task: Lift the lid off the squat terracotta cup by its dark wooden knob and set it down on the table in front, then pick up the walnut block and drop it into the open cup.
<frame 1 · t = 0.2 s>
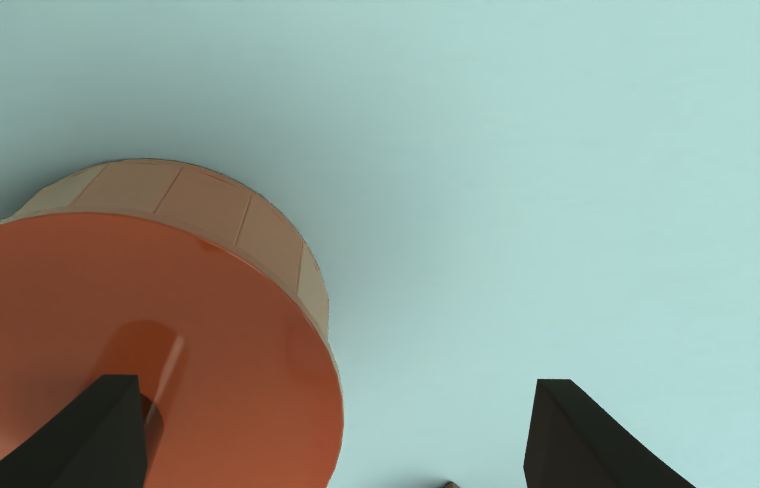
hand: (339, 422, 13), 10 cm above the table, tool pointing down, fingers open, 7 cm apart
cup: (164, 314, 24), on the table
lid: (121, 410, 19), point 5 cm above the table, touching cup
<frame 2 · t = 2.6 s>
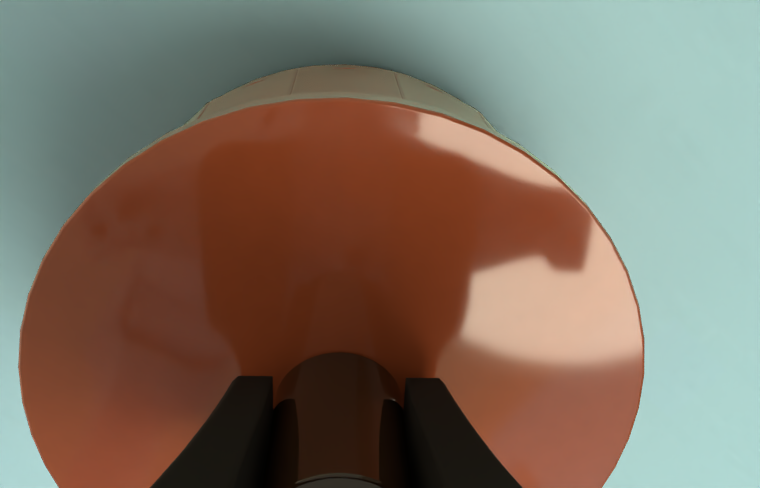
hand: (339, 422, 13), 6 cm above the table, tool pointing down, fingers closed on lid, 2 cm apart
cup: (340, 272, 19), on the table
lid: (338, 389, 14), point 5 cm above the table, touching cup, gripper
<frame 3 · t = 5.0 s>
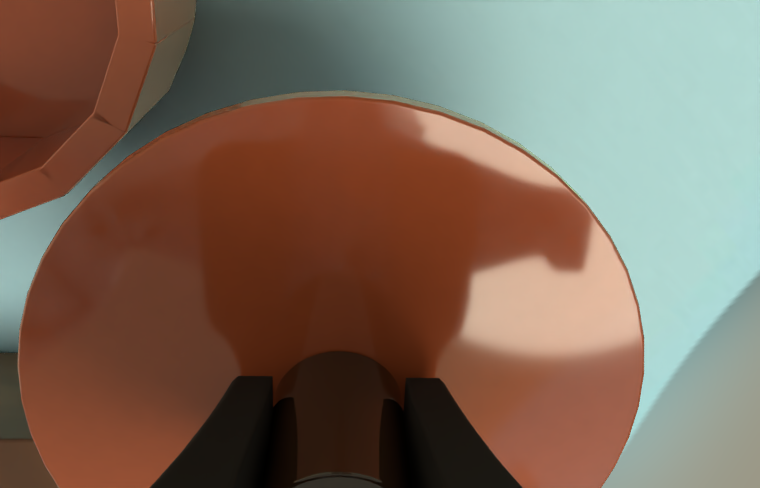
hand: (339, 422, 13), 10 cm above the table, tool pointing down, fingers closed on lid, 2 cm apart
block: (62, 406, 25), on the table
lid: (338, 388, 14), point 9 cm above the table, touching gripper
when the fingers open (2 cm above the table, at t = 7.3 s): lid stays where it is, point 1 cm above the table.
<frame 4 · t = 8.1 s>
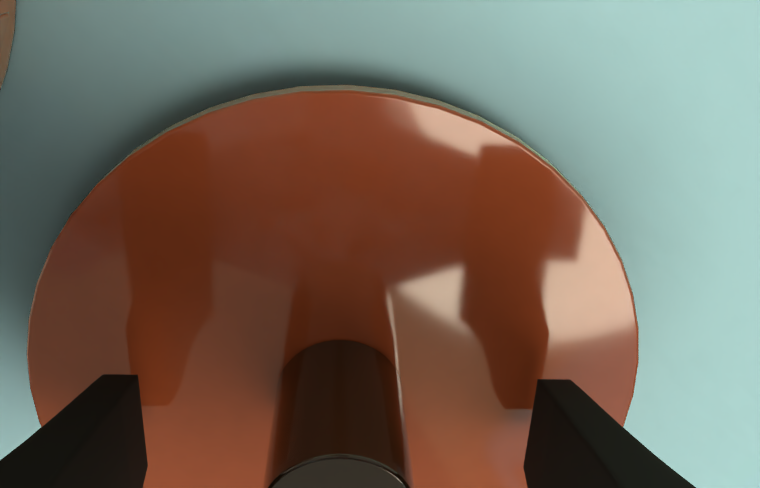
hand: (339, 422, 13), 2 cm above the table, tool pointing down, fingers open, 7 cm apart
lid: (339, 376, 14), point 1 cm above the table
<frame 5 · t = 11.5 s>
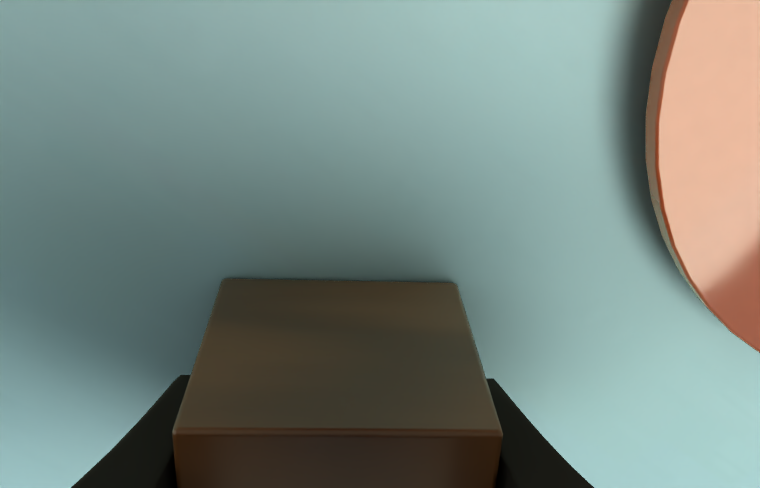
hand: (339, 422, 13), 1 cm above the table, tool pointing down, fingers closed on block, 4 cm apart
block: (338, 377, 14), on the table, touching gripper
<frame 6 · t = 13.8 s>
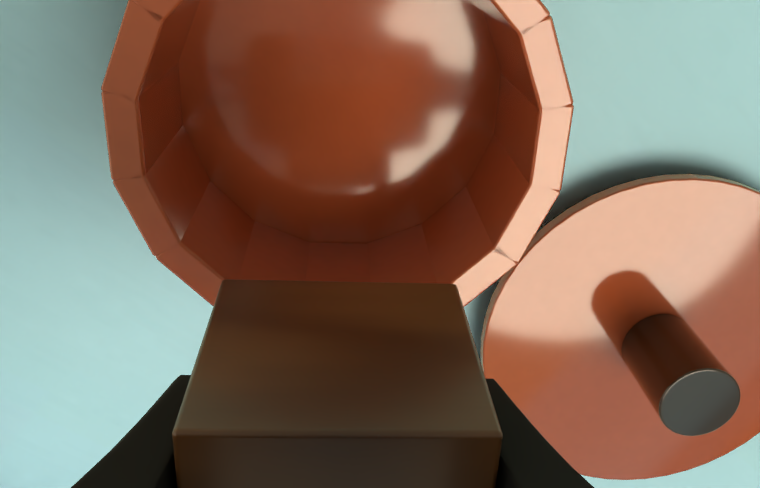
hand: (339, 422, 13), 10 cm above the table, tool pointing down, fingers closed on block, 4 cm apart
cup: (341, 94, 21), on the table
block: (338, 377, 14), point 9 cm above the table, touching gripper
lid: (650, 336, 24), point 1 cm above the table
when the fingers open (3 cm above the table, at t = 16.6 s): block drops 1 cm, resting on cup.
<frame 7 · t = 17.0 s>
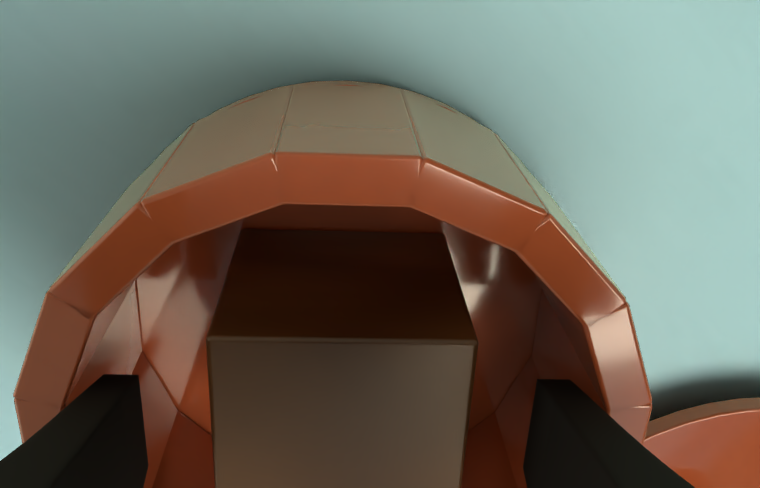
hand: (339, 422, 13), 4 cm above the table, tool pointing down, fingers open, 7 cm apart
cup: (341, 307, 17), on the table
block: (341, 318, 16), point 1 cm above the table, touching cup
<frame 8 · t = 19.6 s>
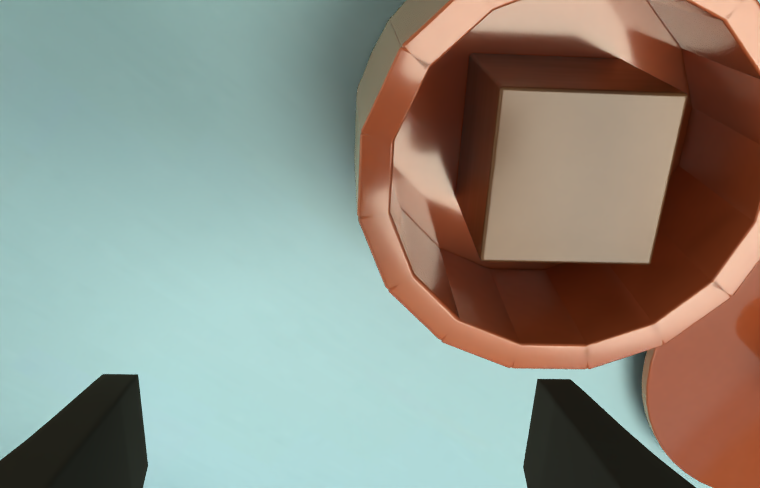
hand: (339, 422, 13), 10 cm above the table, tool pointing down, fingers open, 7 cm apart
cup: (531, 126, 22), on the table
block: (535, 131, 21), point 1 cm above the table, touching cup
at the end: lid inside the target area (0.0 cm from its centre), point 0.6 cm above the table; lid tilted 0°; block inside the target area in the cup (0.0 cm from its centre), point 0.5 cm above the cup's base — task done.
